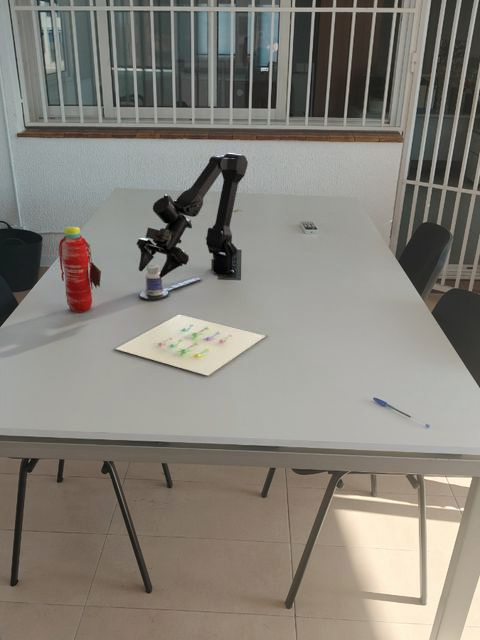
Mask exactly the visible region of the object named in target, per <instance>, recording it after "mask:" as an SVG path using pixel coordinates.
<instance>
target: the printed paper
mask: <svg viewBox="0 0 480 640" xmlns="http://www.w3.org/2000/svg"><path fill="white" fill-rule="evenodd" d="M265 337H266V335H265V334H260V333H255V332H252V331H247V330H243V329H240V328H239V329H238V328H235V327H231V326H228V325H224V324H219V323H216V322H211V321H207V320H204V319H201V318H195V317H191V316H188V315H183V314H177V315H175V316H173V317H171V318H169V319H168V320H166V321H164V322H162V323H161V324H158V325H156V326H155V327H153V328H151V329H150V330H147V331H145V332H144V333H142V334H140V335H138V336H136V337H135V338H132V339H130V340H128V341H126V342H125V343H123V344H121V345H120V346H118V347H116V348H115V350H118V351H121V352H125V353H127V354H132V355H135V356H138V357H142V358H145V359H148V360H153V361H155V362H159V363H162V364H166V365H168V366H169V365H170V366H173V367H176V368H180V369H184V370H187V371H190V372H193V373H197V374H200V375H204V376H207V377H208V376H210V375H211V374H213V373H214V372H216V371H217V370H219V369H220V368H222V367H223V366H224V365H226V364H228V363H229V362H231V361H232V360H233V359H235V358H237V356H239V355H240V354H242V353H244V352H245V351H246V350H248V349H249V348H251V347H252V346H254V345H255V344H256V343H258V342H260V341H261V340H262V339H264V338H265Z"/></svg>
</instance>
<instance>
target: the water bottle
mask: <svg viewBox="0 0 480 640" xmlns="http://www.w3.org/2000/svg"><path fill="white" fill-rule="evenodd" d="M58 254H59V255H58V256H59V265H60V266H59V267H60V271H61V280H62V282H64V281H65V297H66V298H65V299H66V303H67V305H68V307H69V309H70V311H72V312H73V313H84V312H88V311H89V310H90V309H91V308H92V304H93V293H92V291H93V290H94V289H93V288H94V287H95V289H97V288H100V287H101V275H102V270H100V268H98V267H97V266H96V265H95V264H94V262H93V258H92V251H91V243H89V242H87V240H86V239H85V238H84V237H83V236H82V235H81V229H80V227H78V226H68V227H65V229H64V236H63V237H62V238H61V239H60V241H59V244H58ZM64 279H65V280H64ZM93 286H94V287H93Z"/></svg>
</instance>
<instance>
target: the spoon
mask: <svg viewBox="0 0 480 640" xmlns="http://www.w3.org/2000/svg"><path fill="white" fill-rule="evenodd" d="M199 282H201V278H200V277H193V278H189V279H187V280H184V281H182V282H179V283H176V284H173V285H170V286H169V287H166V288H163V293H162V294H161V295H158V296H150V295H148V294H147V293H146V290H144V291H142V292H140V293H139V298H140V299H141V300H143V301H146V302H157V301H161V300H163V299H166V298H168V297H169V293H170V292H173V291H176V290H179V289H182V288H185V287H188V286H191V285H193V284H196V283H199Z"/></svg>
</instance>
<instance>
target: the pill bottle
mask: <svg viewBox="0 0 480 640" xmlns="http://www.w3.org/2000/svg"><path fill="white" fill-rule="evenodd" d="M160 267H161V266H160V265H158V264H148V265H147V266H146V271H147V272H146V273H145V291H146V293H147V294H148V295H150V296H158V295H161V294H162V293H163V290H164V288H163V277H162V278H160V277H159V274H160V272H161V268H160Z"/></svg>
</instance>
